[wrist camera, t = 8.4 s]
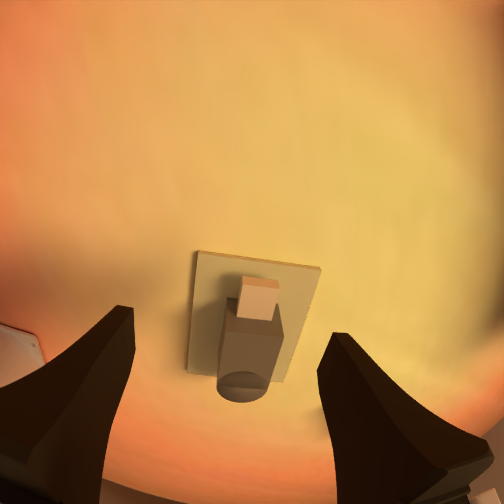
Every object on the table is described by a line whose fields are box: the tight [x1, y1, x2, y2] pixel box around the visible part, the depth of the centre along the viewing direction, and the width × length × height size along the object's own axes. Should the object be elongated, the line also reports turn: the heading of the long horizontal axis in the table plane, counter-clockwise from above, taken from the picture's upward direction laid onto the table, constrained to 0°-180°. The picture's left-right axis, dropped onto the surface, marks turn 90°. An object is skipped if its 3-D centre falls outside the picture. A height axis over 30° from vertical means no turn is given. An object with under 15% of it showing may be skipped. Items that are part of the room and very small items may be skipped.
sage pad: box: [187, 251, 321, 382], centre depth 23 cm, size 11×8×1 cm
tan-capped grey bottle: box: [217, 276, 284, 403], centre depth 21 cm, size 9×4×4 cm, turn 170°
